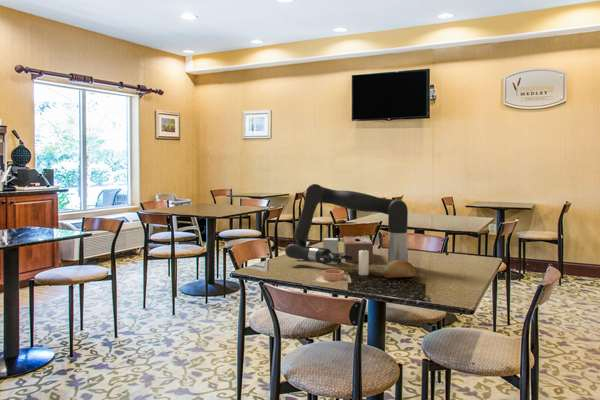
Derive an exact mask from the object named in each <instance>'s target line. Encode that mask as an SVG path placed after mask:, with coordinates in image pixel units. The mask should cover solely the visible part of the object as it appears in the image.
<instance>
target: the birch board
mask: <svg viewBox="0 0 600 400" xmlns="http://www.w3.org/2000/svg"><path fill="white" fill-rule="evenodd" d="M315 283H326V284H327V283H330V284H331V283H333V284H334V283H335V284H336V283H337V284H339V283H342V284H345V283H352V279H351V275H350V274H344V279H343V280H339V281H328V280H324V279H322V273H321V274H318V273H317V274H315Z"/></svg>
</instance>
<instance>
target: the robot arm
mask: <svg viewBox="0 0 600 400" xmlns="http://www.w3.org/2000/svg"><path fill="white" fill-rule="evenodd" d="M304 195H305V197H304V202H303V206H302V210H301V213H300V216H299V219H298V221H297V224H296V226H295V230H294V234H293V239H295V240H296V244H295V243H289V244H288V245H287V246H286V247H285V250H284V254H285V255H286V256H287V257H288V258H290V259H294V260H296V259H303V260H302V261H308V262H313V263H316V264H322V265H329V264H328V263H330V262H332V263H333V262H336V263H337V264H341V263H342V260H344V261H345V260H352V256H351V255H348V254H347V253H344V252H339V251H338V252H337V253H335V252H332V253H331V251H330V250H329V249H327V248H323V247H319V246H318V247H317V246H315V247H314V246H309V245H308V246H306V241H307V239H308V236H309V233H310V231H311V227H312V223H313V219H314V215H315V211H316V209H317V207H318V204H319V203H320V204H329V205H335V206H338V207H341V208H344V209H348V210H351V211H352V210H353V211H356V212H357V211H358V212H367V213H381V214H385V215H388V219H387V222H388V223H387V224H388V225H387V226H388V227H387V229H388V230H387V231H388V234H387V236H388V237H387V238H388V241H387V242H388V243H387V244H388V246H387V251H388V252H387V253H388V254H387V257H388V258H387V264H388V263H389V262H391V261H394V260H404V261H407V262H409V249H408V225H409V224H408V223H409V222H408V217H409V216H408V215H409V214H408V213H409V211H408V210H409V209H408V206H407V204H406V202H405V201H403V200H402V199H393V198H391V199H390V198H384V197H383V198H382V197H378V196H374V195H371V194H367V193H362V192H358V191H352V190H335V189H331V188H327V187H324V186H322V185H320V184H317V183H312V184H310V185H308V187H307V188H306V190H305V194H304ZM307 242H308V241H307Z"/></svg>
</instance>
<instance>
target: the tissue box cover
mask: <svg viewBox="0 0 600 400" xmlns="http://www.w3.org/2000/svg"><path fill="white" fill-rule="evenodd" d="M363 249H364V250H367V251H369V263H373V262H374V243H373V241H372V240H371V238H370V236H343V253H347V254H348V255H351V256H352V260H344V262H345V263H359V251H360V250H363Z"/></svg>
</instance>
